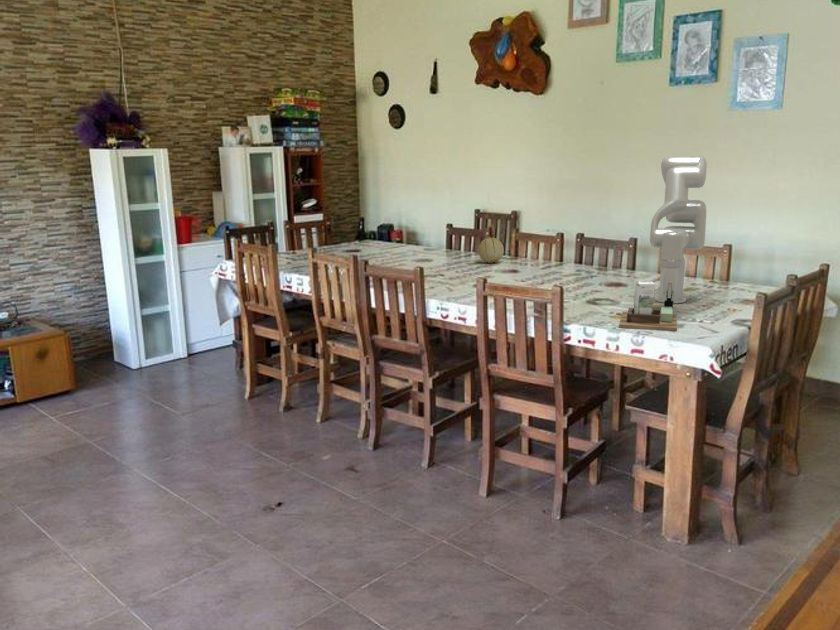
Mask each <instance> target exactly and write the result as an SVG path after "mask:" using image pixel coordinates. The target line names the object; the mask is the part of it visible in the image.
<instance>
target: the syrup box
mask: <svg viewBox="0 0 840 630" xmlns="http://www.w3.org/2000/svg"><path fill="white" fill-rule="evenodd" d="M634 285H635V286H634V297H633V298H634V301H633V308H634V314H649V315H653V309H654V300H655V287H656V283H654V282H653V281H651V280H635V283H634Z"/></svg>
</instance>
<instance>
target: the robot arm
mask: <svg viewBox="0 0 840 630" xmlns="http://www.w3.org/2000/svg"><path fill="white" fill-rule="evenodd" d="M707 163H708V162H707V160H706V157H704V156H701V155H675V156H673V155H672V156H667V157H664V158H662V161H661V163H660V170H661V171H660V172H661V175H662V178H663V181H664V185H665V189H664V190H665V191H664V203H663V204H662V205H661V206H660V207H659V208H658V209H657V211H656V212H655V213H654V215H653V216H652V219H651V223H650V231H649V232H650V233H649V243H650V245H651V247H653V248H657V249H658V248H659V249H660V250H661V251H660V253H661V255H660V273H659V274H660V277H659V278H660V279H659V291H658V293H659V294H658V295H657V296H654V300H655V301H656V302H659V303H662V304H663V303H664V305H663V306H665V307H673V308H674V304H684V303H686V302H687V300H688V299H687V297H685V296H684V284H685V283H684V282H685V269H686V268H685V267H686V260H685V257H684V255H683V250H689V251H690V250H694V251H695V250H701V249H702V248H703V247H704V245H705V241H706V226H707V205H706V203H705V201H703V200H700V199H689V189H692V188H693V189H694V188H695V189H697V188H698V189H700V188H703V187H704V185H705V182H706V179H707V168H708V166H707ZM663 218H665V220H666V222H669V223H673V224H693V225H692V226H688V225H685V226H683V225H670V226H665V227H662V228H659V225H660V222H661V220H662V219H663Z"/></svg>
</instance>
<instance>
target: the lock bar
mask: <svg viewBox="0 0 840 630" xmlns="http://www.w3.org/2000/svg"><path fill="white" fill-rule="evenodd" d="M673 312H674V306H673V307H665V306H664V305H663V306H661V308H660V313H661V321H666V322H672V316H673V314H674V313H673Z"/></svg>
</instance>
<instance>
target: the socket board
mask: <svg viewBox="0 0 840 630" xmlns="http://www.w3.org/2000/svg"><path fill="white" fill-rule="evenodd" d="M619 320H620V321H619V323H618V328H619V329H633V330H634V329H635V330H649V331H651V330H652V331H668V332H669V331H670V332H677V329H678V327H677V326H678V325H677V322H678V321H677V313H673V316H672V322H666V321H661V308H660V309H659V308H653V315H649V314H634V307H628V310H627V311H622V312H621V317H620V319H619Z"/></svg>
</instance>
